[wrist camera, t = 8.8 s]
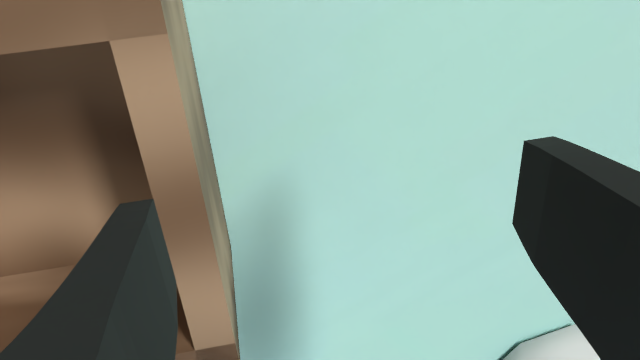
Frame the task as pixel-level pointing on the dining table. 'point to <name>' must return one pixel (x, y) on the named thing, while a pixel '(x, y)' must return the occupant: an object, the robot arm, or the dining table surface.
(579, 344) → the flask
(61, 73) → the cabinet
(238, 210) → the dining table surface
